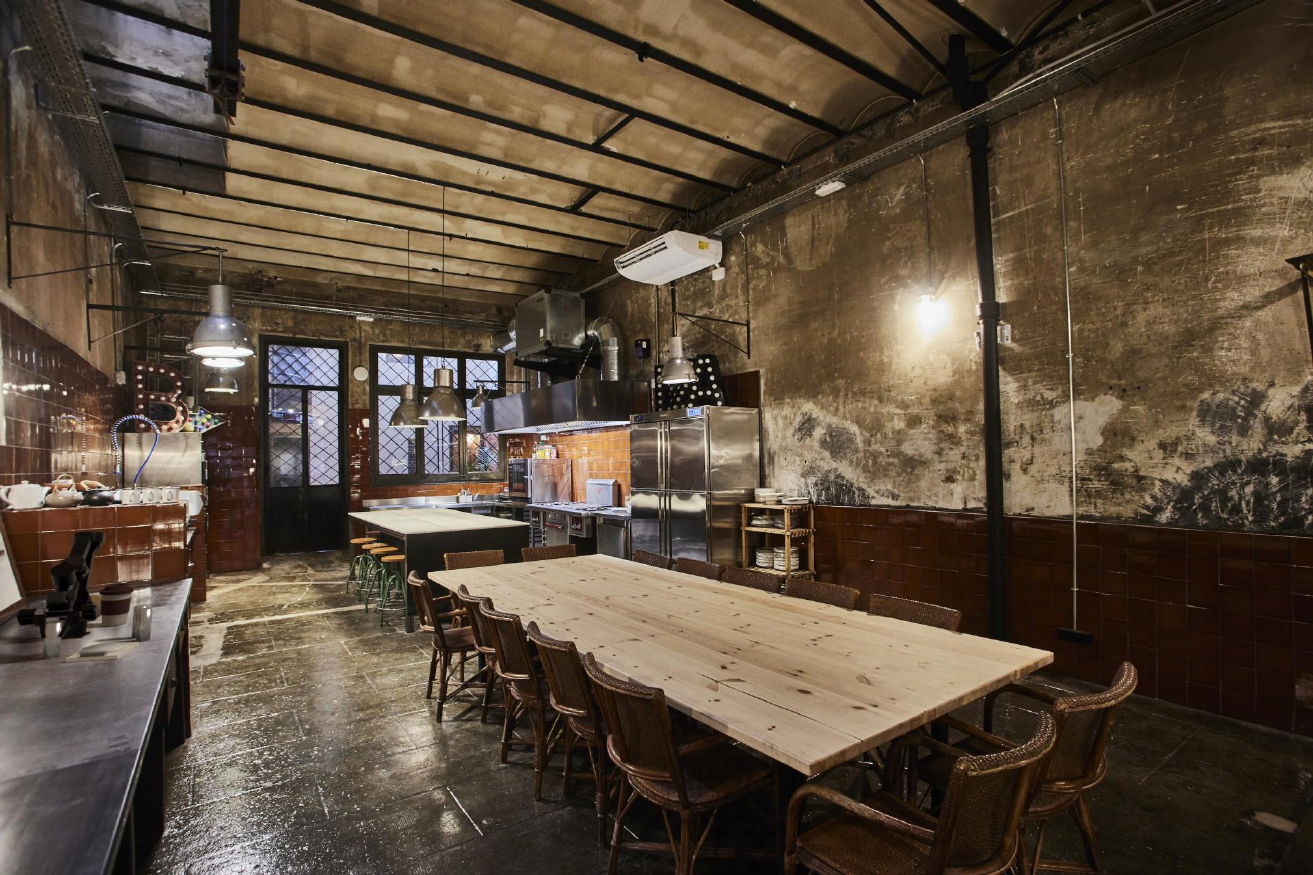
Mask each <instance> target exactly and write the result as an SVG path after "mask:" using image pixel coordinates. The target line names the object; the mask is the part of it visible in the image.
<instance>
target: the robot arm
mask: <svg viewBox="0 0 1313 875" xmlns="http://www.w3.org/2000/svg"><path fill="white" fill-rule="evenodd" d="M106 540H107V534H106V533H105V532H103V531H102V530H80V531H76V532H73V537H72V546H71V548H70V552H69V554H68V557H66V558H65V559H63V560H61V561H60V563H58V564H57V565H55V566H52V568H50V572H49V574H50V578H51V582H52V585H53V586H54V590H53V591H50V592H47V593H46V598H45V604H46V605H45V608H46V610H44V609H42V610H40V609H39V610H37V607H28V608H26V607H25V608H21V609H19V610H17V612H16V615H15V616H16V620H17V623H18V625H19V626H33V625H34V627H38V628H39V632H40V637H41V638H40V639H41V640H44V634H45V623H47V622H48V621H47V619H55V618H56V619H57V618H58V621H65V622H63V623H64V624H63V626H62V630H61V634H60V637H62V639H73V638H76V639H77V638H84V637H86V636H87V635H89V634H91V633H92V631H87V630H88V629H87V626H88V621H95V620H97V619H98V618H99V617H98V608H97V605H96V604H93V601H92V599H91V597H90V595H91V594H90V593H89V592H88V591H89V586H90V581H91V576H92V570H93V565H94V561H95V556H96V555H97V554H98V553H99V552H100V551H101V550H102V549H103V545H104V544H105V543H106ZM97 617H98V618H97Z"/></svg>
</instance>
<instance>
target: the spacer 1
mask: <svg viewBox="0 0 1313 875" xmlns="http://www.w3.org/2000/svg"><path fill="white" fill-rule="evenodd" d="M63 623H64V620H61V621H59V620H54V621H47V623H45V634H44V639H43V649H42V658H43V659H42V660H44V659H48V660H52V659H51V658H55V659H59V658H60V657H61V652H62V650H61V649H62V639H63V638H62V637H60V634H61V630H62V628H63V626H64V624H63ZM58 657H59V658H58Z"/></svg>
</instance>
